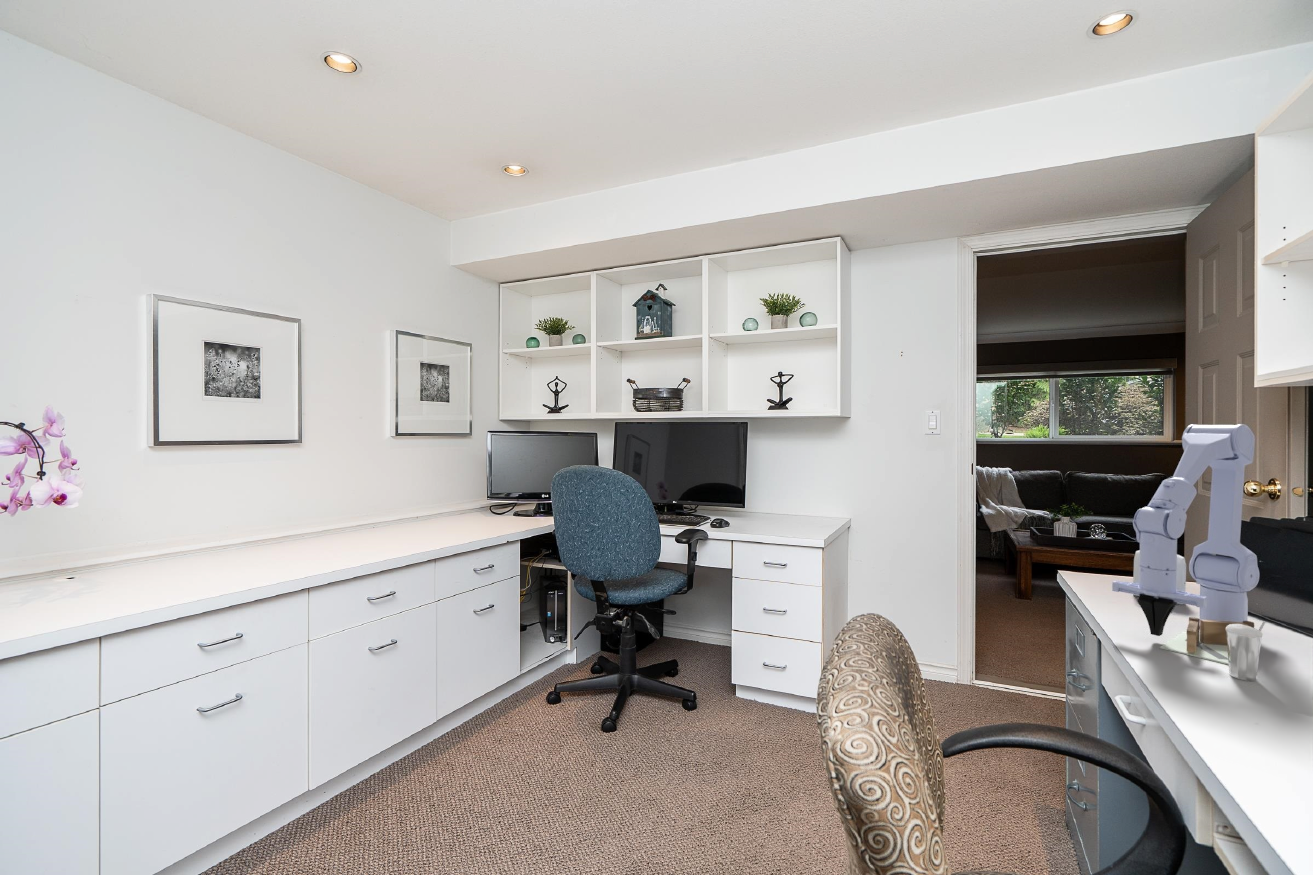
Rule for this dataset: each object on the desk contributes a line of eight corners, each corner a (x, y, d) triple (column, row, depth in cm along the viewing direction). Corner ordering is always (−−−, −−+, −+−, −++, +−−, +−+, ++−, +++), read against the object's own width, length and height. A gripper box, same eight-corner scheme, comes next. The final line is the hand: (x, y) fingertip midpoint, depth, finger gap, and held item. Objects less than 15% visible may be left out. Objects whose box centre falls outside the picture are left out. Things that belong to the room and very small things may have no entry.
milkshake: (1274, 684, 100) (1275, 625, 100) (1237, 681, 101) (1238, 623, 101) (1253, 673, 105) (1254, 617, 105) (1217, 670, 106) (1219, 615, 106)
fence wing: (1189, 640, 119) (1189, 620, 119) (1197, 641, 118) (1198, 621, 118) (1186, 651, 113) (1186, 630, 113) (1195, 653, 112) (1195, 632, 112)
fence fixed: (1186, 641, 120) (1187, 616, 120) (1250, 646, 118) (1250, 620, 117) (1191, 643, 119) (1191, 619, 119) (1255, 649, 116) (1256, 623, 116)
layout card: (1184, 632, 125) (1184, 630, 125) (1257, 648, 116) (1257, 646, 116) (1160, 648, 117) (1159, 646, 117) (1236, 666, 108) (1236, 665, 108)
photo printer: (1187, 602, 146) (1188, 552, 146) (1182, 605, 144) (1183, 555, 143) (1136, 593, 155) (1136, 545, 154) (1130, 595, 152) (1131, 547, 152)
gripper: (1107, 562, 123) (1106, 627, 123) (1199, 577, 111) (1198, 649, 112) (1119, 558, 127) (1118, 621, 127) (1210, 572, 115) (1208, 641, 116)
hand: (1156, 634), depth 120 cm, fingers closed
